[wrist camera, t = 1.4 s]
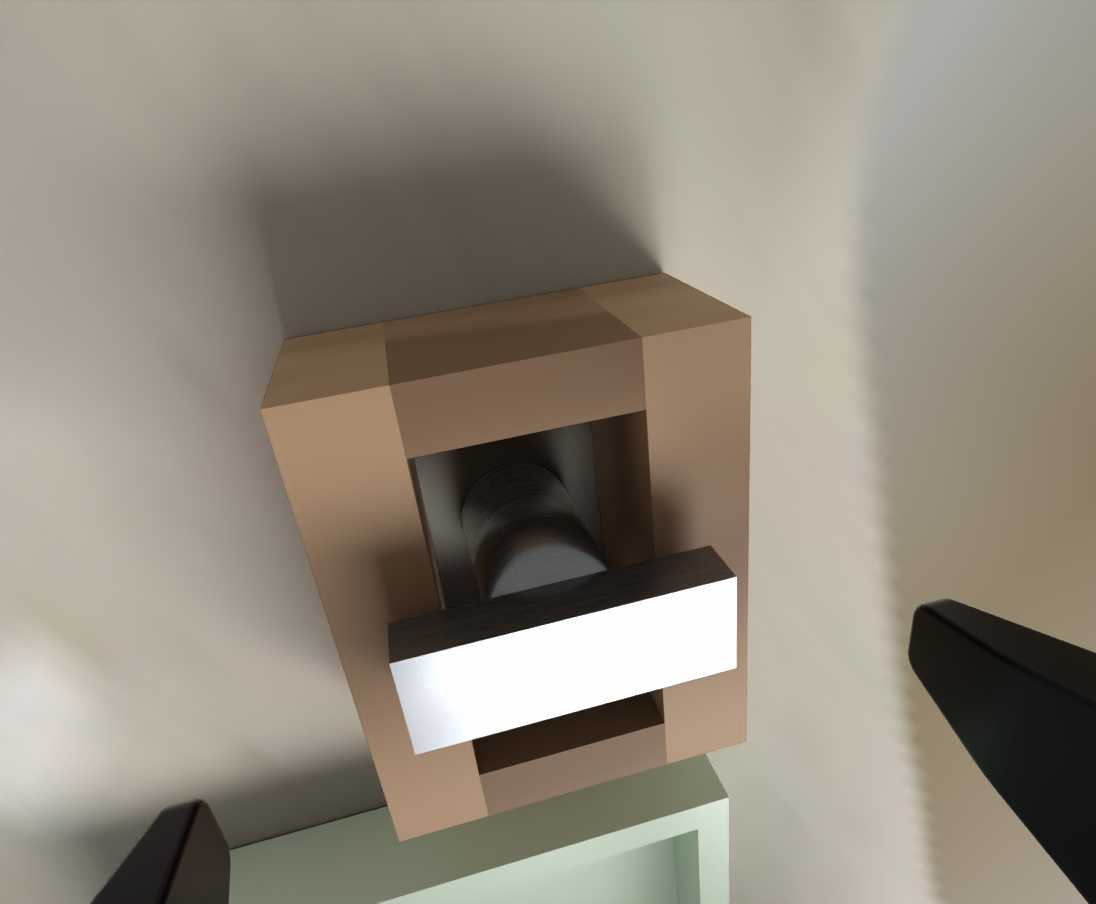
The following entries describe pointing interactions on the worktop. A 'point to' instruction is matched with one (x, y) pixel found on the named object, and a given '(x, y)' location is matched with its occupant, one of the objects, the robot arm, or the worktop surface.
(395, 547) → the collar
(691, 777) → the tray
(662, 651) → the grey t-shaped knob
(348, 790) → the worktop surface
